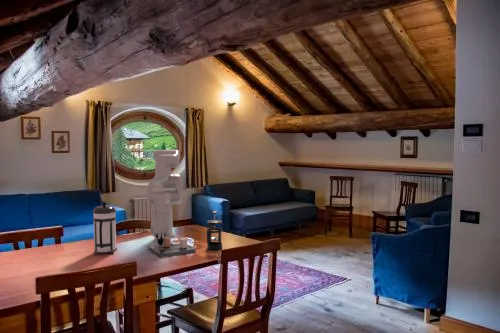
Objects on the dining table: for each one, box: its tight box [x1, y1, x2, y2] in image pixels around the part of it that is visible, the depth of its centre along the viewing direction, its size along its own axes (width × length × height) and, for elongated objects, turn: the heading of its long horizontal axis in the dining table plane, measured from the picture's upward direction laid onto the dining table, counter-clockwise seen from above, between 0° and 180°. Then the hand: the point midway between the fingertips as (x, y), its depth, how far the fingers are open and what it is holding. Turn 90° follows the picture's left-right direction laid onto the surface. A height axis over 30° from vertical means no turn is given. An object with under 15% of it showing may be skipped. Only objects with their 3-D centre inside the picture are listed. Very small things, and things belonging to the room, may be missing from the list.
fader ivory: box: [179, 237, 188, 248], centre depth 254 cm, size 4×3×5 cm
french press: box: [206, 210, 223, 252], centre depth 259 cm, size 12×9×23 cm
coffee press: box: [92, 201, 118, 256], centre depth 249 cm, size 17×16×30 cm
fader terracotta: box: [163, 237, 171, 247], centre depth 257 cm, size 4×3×5 cm
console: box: [147, 242, 197, 259], centre depth 254 cm, size 20×22×3 cm
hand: (160, 244), depth 254 cm, fingers closed
